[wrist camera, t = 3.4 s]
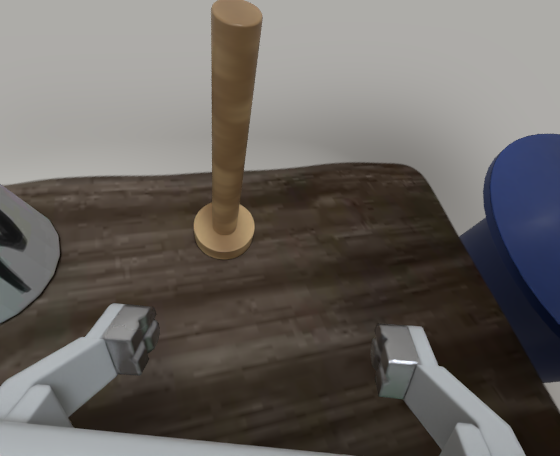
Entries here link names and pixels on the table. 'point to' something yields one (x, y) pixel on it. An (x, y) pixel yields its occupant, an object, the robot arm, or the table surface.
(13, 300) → the mug
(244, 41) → the tan wooden rod
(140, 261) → the table surface
